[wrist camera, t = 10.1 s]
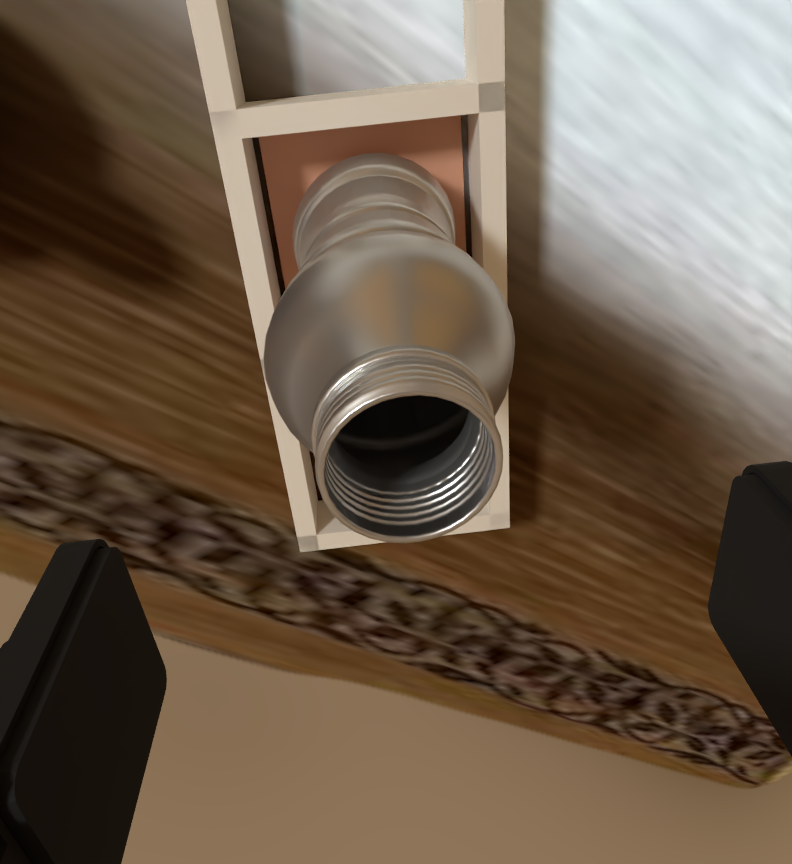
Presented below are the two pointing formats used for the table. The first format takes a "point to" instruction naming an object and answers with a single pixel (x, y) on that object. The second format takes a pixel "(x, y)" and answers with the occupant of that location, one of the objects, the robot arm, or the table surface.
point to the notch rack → (331, 143)
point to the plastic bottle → (390, 353)
